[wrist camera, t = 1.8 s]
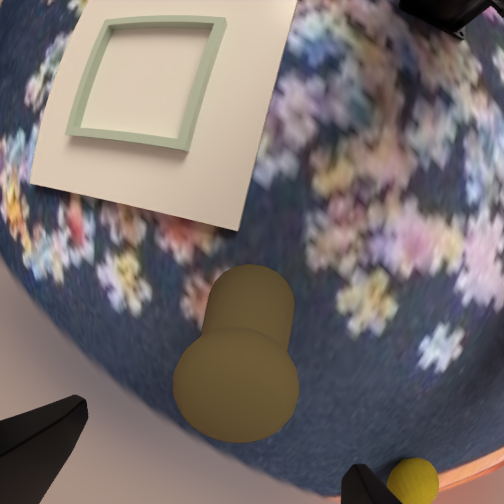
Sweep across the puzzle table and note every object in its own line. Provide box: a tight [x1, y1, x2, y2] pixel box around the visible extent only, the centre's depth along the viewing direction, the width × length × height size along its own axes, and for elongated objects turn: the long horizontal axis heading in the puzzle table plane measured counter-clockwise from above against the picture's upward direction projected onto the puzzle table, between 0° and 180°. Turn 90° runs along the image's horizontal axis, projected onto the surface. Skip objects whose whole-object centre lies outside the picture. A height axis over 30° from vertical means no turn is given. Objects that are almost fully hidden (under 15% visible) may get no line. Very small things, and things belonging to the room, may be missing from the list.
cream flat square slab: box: [30, 0, 298, 231], centre depth 17 cm, size 18×18×2 cm
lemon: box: [387, 458, 439, 504], centre depth 19 cm, size 6×6×8 cm
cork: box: [173, 264, 300, 443], centre depth 15 cm, size 6×6×11 cm
